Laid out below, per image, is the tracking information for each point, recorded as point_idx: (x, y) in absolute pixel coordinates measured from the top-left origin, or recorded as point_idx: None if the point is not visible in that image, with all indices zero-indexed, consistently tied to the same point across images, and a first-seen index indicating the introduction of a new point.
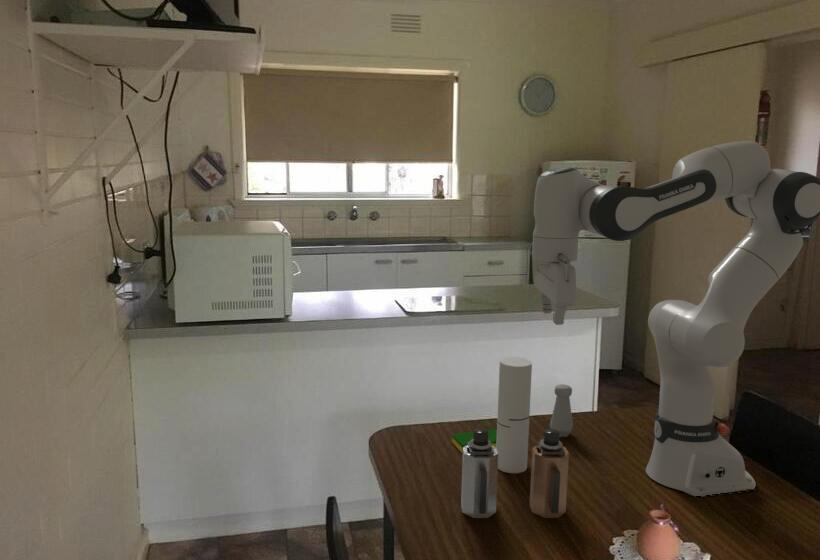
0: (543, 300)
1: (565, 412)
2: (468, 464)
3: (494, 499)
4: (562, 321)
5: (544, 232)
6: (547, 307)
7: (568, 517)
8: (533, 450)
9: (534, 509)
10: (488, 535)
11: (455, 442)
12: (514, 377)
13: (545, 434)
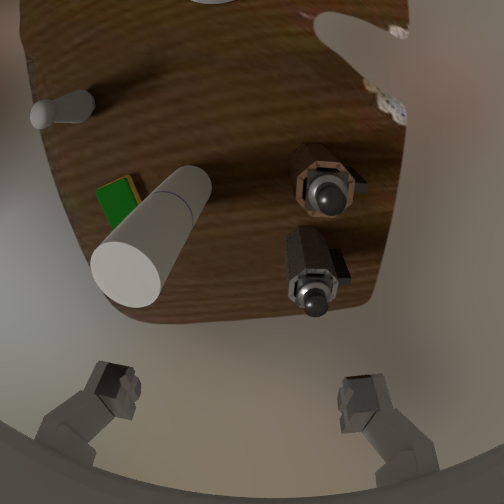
0: (98, 426)
1: (73, 104)
2: None
3: (319, 238)
4: (383, 386)
5: None
6: (125, 398)
7: (332, 143)
8: (320, 216)
9: None
10: (357, 242)
11: None
12: (168, 270)
13: (336, 214)
